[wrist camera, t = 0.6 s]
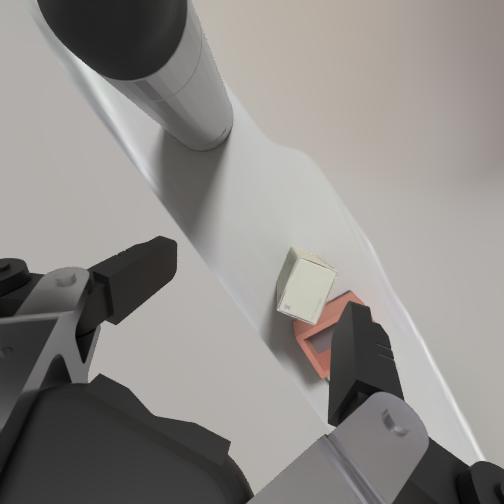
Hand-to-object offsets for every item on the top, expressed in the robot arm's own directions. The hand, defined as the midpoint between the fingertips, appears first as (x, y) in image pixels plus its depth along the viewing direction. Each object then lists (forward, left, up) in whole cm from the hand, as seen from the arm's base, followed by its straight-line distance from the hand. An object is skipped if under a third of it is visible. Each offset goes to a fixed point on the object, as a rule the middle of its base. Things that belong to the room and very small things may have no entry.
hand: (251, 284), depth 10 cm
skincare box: (+6, +1, -25) cm, 26 cm away
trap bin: (+16, +1, -25) cm, 30 cm away
